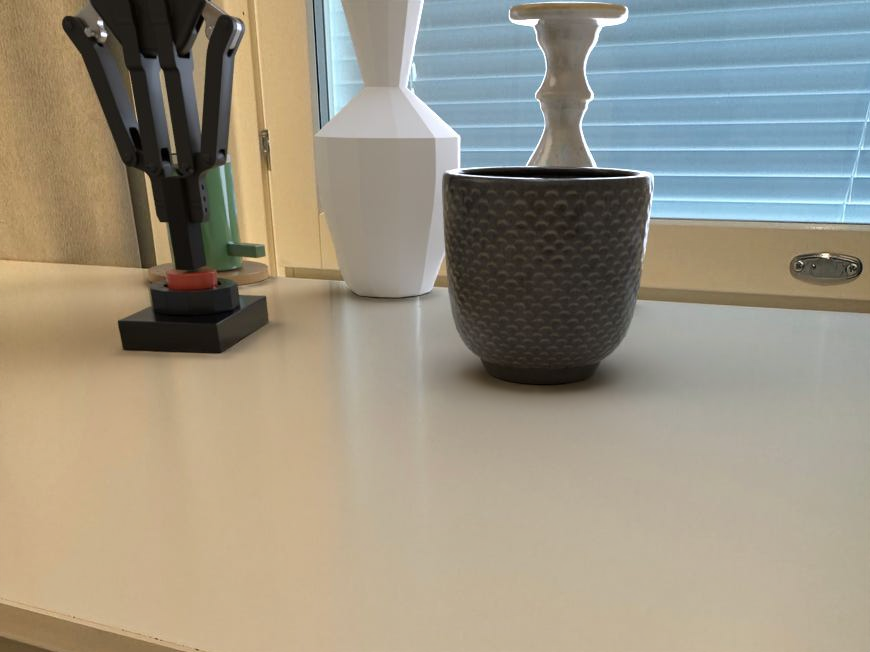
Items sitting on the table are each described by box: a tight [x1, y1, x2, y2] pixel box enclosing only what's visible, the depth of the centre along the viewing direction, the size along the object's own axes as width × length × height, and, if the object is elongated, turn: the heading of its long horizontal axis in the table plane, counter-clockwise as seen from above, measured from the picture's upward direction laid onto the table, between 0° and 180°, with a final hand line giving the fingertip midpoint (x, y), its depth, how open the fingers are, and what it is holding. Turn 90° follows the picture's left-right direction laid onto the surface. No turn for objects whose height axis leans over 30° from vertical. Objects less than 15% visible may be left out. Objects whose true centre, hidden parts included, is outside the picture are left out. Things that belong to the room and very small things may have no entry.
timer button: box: [165, 267, 218, 289], centre depth 72 cm, size 4×4×2 cm
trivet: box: [147, 259, 270, 286], centre depth 99 cm, size 13×13×1 cm
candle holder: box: [508, 1, 629, 168], centre depth 82 cm, size 11×11×24 cm
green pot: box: [165, 150, 267, 271], centre depth 95 cm, size 12×8×11 cm
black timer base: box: [117, 278, 270, 354], centre depth 73 cm, size 8×12×4 cm, turn 173°
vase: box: [313, 0, 461, 298], centre depth 86 cm, size 14×14×25 cm
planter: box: [442, 165, 655, 385], centre depth 61 cm, size 14×14×13 cm
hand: (191, 267), depth 72 cm, fingers closed
